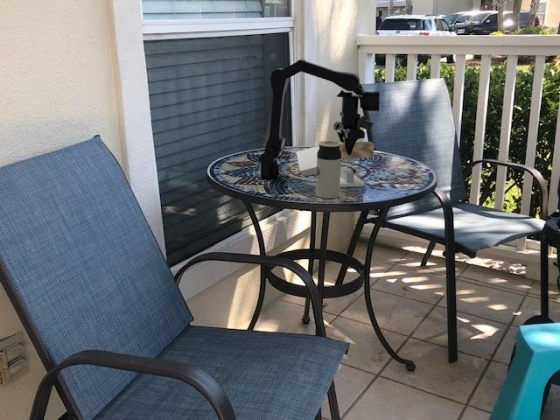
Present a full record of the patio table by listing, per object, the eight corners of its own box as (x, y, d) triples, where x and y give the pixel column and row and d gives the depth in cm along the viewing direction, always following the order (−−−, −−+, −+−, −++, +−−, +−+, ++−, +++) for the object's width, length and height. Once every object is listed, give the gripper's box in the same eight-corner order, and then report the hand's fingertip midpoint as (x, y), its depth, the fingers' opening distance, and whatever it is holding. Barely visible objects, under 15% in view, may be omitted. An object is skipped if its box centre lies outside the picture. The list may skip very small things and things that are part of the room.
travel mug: (338, 192, 195) (341, 140, 189) (339, 199, 187) (342, 145, 182) (315, 192, 195) (317, 140, 190) (315, 198, 188) (317, 145, 182)
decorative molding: (303, 182, 218) (328, 176, 217) (299, 171, 216) (325, 164, 215) (298, 162, 250) (321, 156, 249) (296, 151, 249) (318, 146, 248)
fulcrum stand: (337, 186, 202) (338, 174, 200) (328, 178, 213) (329, 166, 211) (364, 185, 203) (365, 173, 202) (354, 177, 215) (354, 165, 213)
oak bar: (369, 155, 208) (370, 141, 207) (373, 157, 205) (374, 143, 203) (321, 155, 206) (322, 142, 204) (324, 158, 202) (325, 144, 200)
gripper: (380, 114, 193) (377, 159, 198) (363, 106, 210) (360, 147, 215) (349, 114, 191) (346, 159, 196) (334, 106, 208) (332, 148, 213)
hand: (347, 153), depth 205 cm, fingers closed on oak bar, 4 cm apart
